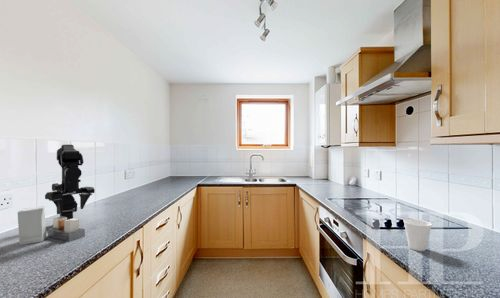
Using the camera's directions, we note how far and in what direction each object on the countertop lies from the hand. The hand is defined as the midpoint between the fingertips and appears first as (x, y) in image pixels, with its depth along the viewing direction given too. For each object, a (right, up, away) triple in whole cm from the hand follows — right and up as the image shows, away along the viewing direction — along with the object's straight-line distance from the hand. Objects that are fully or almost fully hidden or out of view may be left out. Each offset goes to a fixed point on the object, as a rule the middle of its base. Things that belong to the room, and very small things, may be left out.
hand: (71, 211), depth 115 cm
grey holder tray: (-4, -12, +2) cm, 13 cm away
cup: (+153, -13, -12) cm, 154 cm away
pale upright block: (0, -11, 0) cm, 11 cm away
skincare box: (-14, -13, -5) cm, 19 cm away
